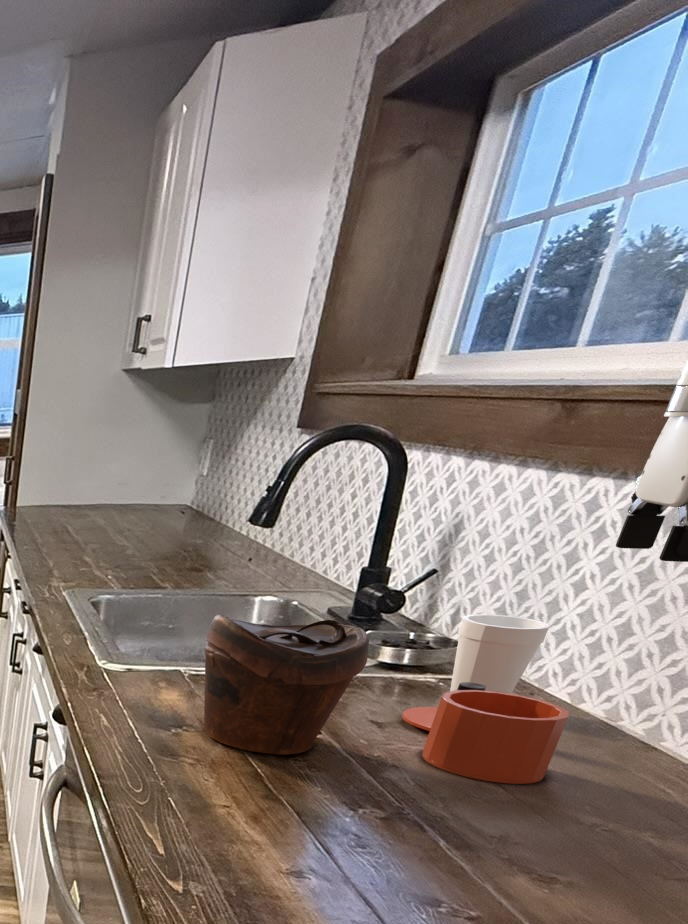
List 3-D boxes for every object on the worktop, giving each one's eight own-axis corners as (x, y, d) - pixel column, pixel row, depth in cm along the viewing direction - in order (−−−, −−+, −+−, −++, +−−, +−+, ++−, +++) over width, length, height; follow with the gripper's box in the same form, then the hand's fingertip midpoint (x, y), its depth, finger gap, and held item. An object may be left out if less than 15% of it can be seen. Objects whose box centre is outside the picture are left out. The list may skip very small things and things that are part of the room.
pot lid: (496, 719, 122) (512, 676, 119) (534, 749, 111) (552, 703, 109) (389, 709, 127) (402, 668, 125) (416, 738, 117) (430, 694, 114)
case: (370, 745, 115) (410, 619, 108) (285, 775, 107) (322, 642, 100) (239, 709, 130) (267, 596, 123) (156, 733, 122) (181, 614, 115)
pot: (520, 755, 110) (544, 695, 107) (561, 789, 100) (588, 724, 97) (410, 744, 115) (429, 686, 112) (439, 775, 105) (461, 713, 102)
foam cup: (525, 704, 127) (557, 621, 122) (507, 717, 122) (539, 632, 117) (446, 689, 134) (473, 611, 129) (426, 701, 130) (453, 620, 125)
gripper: (823, 401, 85) (745, 568, 91) (718, 400, 99) (657, 544, 106) (719, 404, 88) (651, 565, 94) (631, 402, 102) (578, 542, 109)
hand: (654, 554), depth 100 cm, fingers open, 9 cm apart
